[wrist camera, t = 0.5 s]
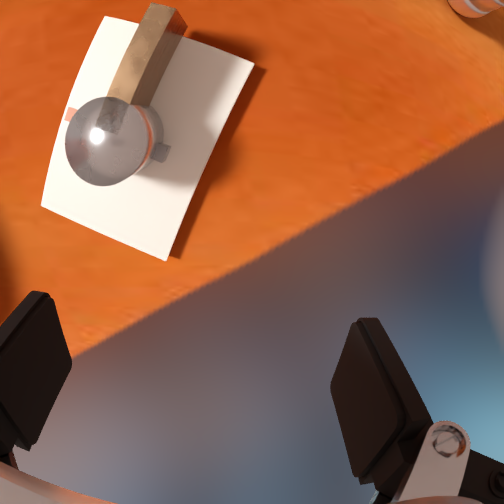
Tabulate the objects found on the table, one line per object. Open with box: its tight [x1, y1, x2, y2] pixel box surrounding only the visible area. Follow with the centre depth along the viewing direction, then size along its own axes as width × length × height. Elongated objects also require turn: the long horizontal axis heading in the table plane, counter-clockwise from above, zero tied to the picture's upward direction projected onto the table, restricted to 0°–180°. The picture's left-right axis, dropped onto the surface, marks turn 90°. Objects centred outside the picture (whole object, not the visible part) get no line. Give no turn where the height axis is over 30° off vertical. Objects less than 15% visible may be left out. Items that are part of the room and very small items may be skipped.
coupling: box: [65, 2, 188, 186], centre depth 25 cm, size 17×10×7 cm, turn 155°
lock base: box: [41, 16, 254, 261], centre depth 31 cm, size 24×18×2 cm
